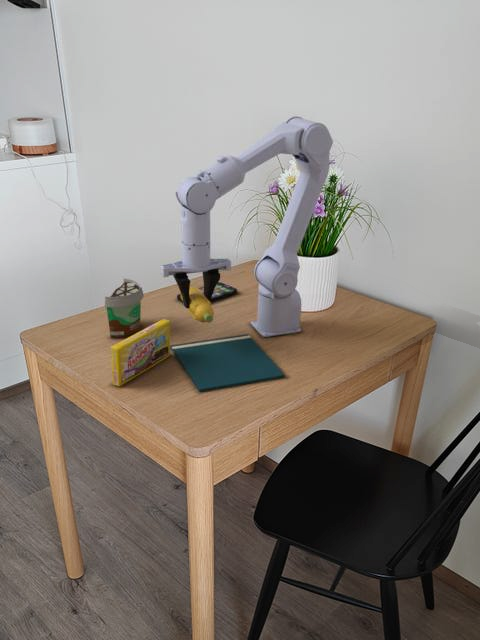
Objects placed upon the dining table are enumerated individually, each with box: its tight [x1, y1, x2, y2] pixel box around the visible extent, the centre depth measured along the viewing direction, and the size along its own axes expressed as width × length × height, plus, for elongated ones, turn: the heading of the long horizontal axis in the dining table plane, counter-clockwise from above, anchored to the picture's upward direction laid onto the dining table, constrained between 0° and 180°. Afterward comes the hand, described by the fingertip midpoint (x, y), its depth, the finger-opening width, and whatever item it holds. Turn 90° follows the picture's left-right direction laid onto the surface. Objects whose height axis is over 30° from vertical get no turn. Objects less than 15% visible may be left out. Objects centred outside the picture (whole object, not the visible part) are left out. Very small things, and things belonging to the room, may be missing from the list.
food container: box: [104, 278, 144, 339], centre depth 140 cm, size 12×6×10 cm, turn 168°
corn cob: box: [181, 285, 215, 324], centre depth 134 cm, size 4×15×4 cm, turn 21°
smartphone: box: [176, 281, 238, 303], centre depth 161 cm, size 8×1×15 cm
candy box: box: [110, 318, 171, 388], centre depth 125 cm, size 16×2×8 cm, turn 148°
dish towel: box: [170, 333, 286, 393], centre depth 131 cm, size 18×20×1 cm
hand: (197, 305), depth 134 cm, fingers closed on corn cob, 4 cm apart
